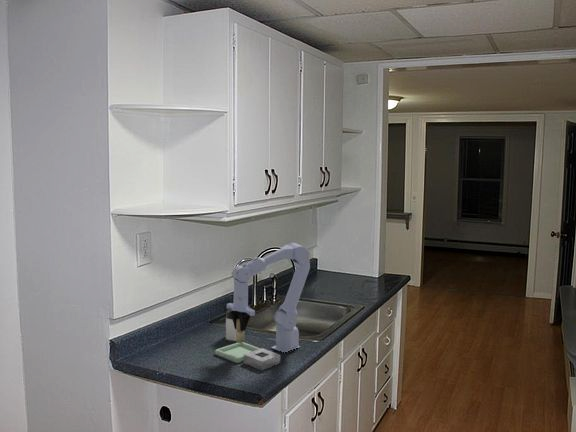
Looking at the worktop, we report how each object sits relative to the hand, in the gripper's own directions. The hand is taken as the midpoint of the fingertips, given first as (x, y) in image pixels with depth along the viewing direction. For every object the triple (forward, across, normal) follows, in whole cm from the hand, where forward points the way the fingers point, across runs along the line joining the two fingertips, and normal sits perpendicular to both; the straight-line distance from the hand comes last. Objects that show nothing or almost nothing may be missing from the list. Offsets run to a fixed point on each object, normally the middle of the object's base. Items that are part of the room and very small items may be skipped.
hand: (240, 329), depth 224 cm
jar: (+11, -16, +12) cm, 23 cm away
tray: (+10, 0, 0) cm, 10 cm away
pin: (+5, 0, 0) cm, 5 cm away
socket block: (+10, +13, 0) cm, 16 cm away
